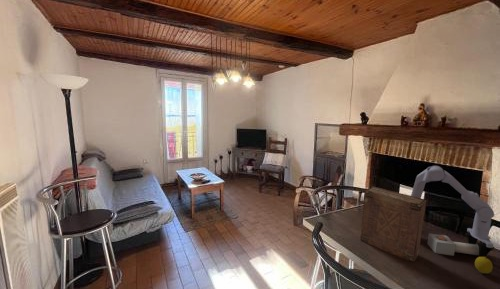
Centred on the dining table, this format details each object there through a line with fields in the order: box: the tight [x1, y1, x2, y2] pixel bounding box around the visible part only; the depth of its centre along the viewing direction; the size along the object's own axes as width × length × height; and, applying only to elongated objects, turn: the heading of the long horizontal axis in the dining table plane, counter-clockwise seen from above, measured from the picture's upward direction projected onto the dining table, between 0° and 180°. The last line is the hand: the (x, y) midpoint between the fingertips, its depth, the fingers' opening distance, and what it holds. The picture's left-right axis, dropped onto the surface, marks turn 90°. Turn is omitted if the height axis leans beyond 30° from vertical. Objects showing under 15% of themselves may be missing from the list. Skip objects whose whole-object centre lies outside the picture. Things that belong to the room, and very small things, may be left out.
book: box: [360, 186, 427, 264], centre depth 116 cm, size 25×9×30 cm, turn 41°
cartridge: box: [453, 241, 479, 256], centre depth 113 cm, size 13×5×5 cm, turn 75°
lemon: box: [474, 256, 493, 274], centre depth 99 cm, size 6×6×8 cm
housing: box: [427, 233, 456, 257], centre depth 116 cm, size 8×8×6 cm
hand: (476, 252), depth 112 cm, fingers open, 7 cm apart
